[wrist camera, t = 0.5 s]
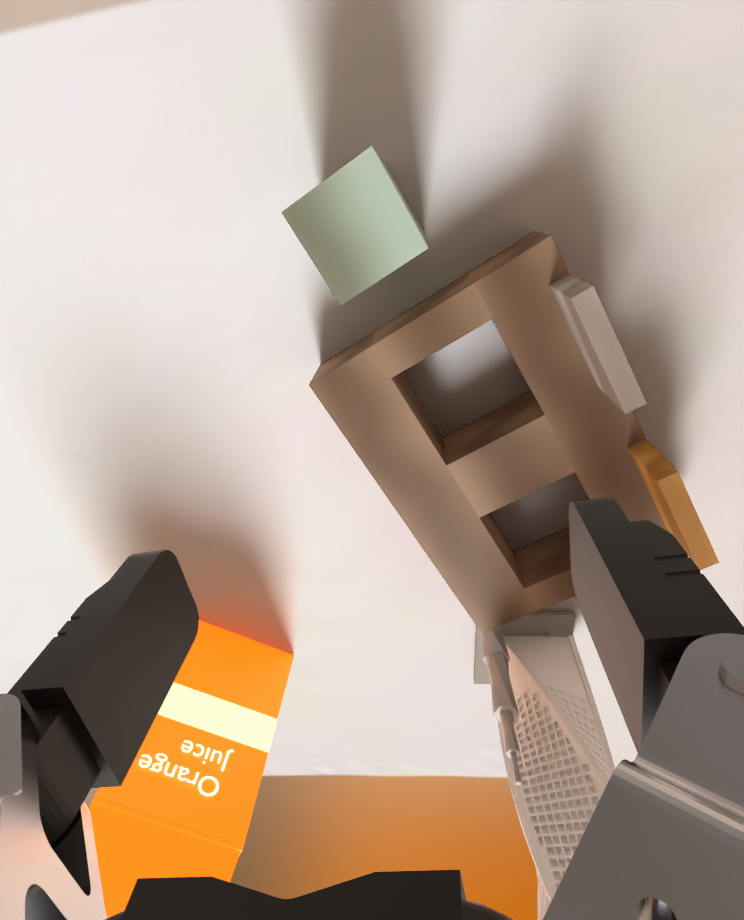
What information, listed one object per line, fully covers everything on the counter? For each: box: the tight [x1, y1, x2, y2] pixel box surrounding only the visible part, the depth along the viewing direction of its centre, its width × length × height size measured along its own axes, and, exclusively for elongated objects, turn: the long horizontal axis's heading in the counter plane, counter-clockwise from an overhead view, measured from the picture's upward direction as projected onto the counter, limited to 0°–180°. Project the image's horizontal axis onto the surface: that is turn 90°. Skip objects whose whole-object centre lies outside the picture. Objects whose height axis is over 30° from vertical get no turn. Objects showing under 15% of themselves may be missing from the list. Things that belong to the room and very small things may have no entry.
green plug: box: [282, 146, 428, 305], centre depth 25 cm, size 4×4×10 cm
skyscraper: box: [474, 611, 615, 920], centre depth 29 cm, size 8×8×28 cm
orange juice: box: [89, 620, 294, 918], centre depth 36 cm, size 8×9×20 cm
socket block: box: [309, 231, 719, 633], centre depth 31 cm, size 14×20×8 cm
